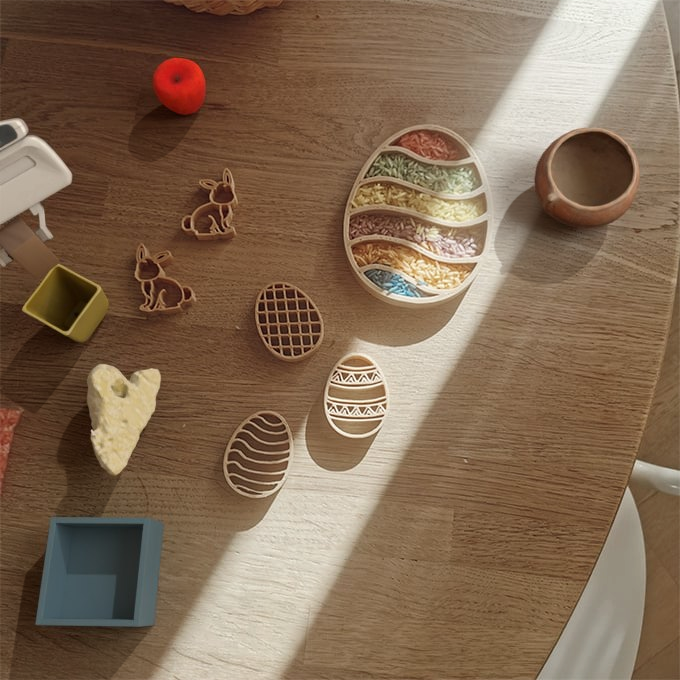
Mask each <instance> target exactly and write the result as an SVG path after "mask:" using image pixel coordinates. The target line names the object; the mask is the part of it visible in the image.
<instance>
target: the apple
mask: <svg viewBox="0 0 680 680" xmlns="http://www.w3.org/2000/svg"><path fill="white" fill-rule="evenodd" d="M206 85H207V84H206V79H205V76H204V72H203V70H202V69H201V68H200V65H198V64H197V63H196V62H195V61H193V60H190V59H188V58H182V57H181V58H180V57H171V58H169V59H165V60H164V61H163V62H161V63H160V64H159V65H158V66H157V68H156V69H155V72H154V73H153V75H152V87H153V90H154V93H155V95H156V97H157V98H158V100H159V102H160V103H161V104H162V105H163V106H164V107H166V108H167V109H168V110H170V111H172V112H174V113H176V114H178V115H184V116H187V115H192V114H195V113H197V112H198V111H199V110H200V109H201V107H202V105H204V103H205V98H206Z"/></svg>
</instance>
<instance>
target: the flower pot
mask: <svg viewBox="0 0 680 680" xmlns="http://www.w3.org/2000/svg"><path fill="white" fill-rule="evenodd" d="M109 305H110V303H109V300H108V297H107V296H106V294H105V292H104V290H103V288H102V287H101V286H100V285H99V284H97V283H96V282H93V281H91V280H89V279H88V278H86V277H84V276H82V275H80V274H79V273H76V272H74V271H73V270H71V269H70V268H68V267H66V266H64V265H63V264H60V263H59V264H58V265H56V266H55V267H54V268H53V269H51V270H50V271H49V272H48V273H46V274H45V277H44V278H43V280H42V281H41V283H40V284H39V285H38V287H36V289H35V290H34V292H33V293H32V294H31V295H30V296H29V298H28V299H27V301H26V302H25V303H24V304H23V306H22V308H21V311H22V312H23V313H24V314H27V315H28V316H30V317H32V318H33V319H35V320H37V321H39V322H41V323H42V324H45V325H46V326H47V327H49V328H51V329H53V330H55V331H57V332H58V333H59V334H61V335H63V336H65V337H67V338H69V339H71V340H72V341H75V342H77V343H84V342H86V341H87V340H89V339H90V338H91V336H93V334H94V332H95V330H96V329H97V328H98V326H99V325H100V323H101V322H102V320H103V319H104V318H105V316H106V315H107V313H108V311H109ZM76 314H77V315H76Z"/></svg>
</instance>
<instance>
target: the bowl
mask: <svg viewBox="0 0 680 680" xmlns="http://www.w3.org/2000/svg"><path fill="white" fill-rule="evenodd" d="M640 176H641V175H640V166H639V161H638V159H637V156H636V154H635V152H634V150H633V149H632V147H631V145H629V144H628V143H627V141H626V140H625V139H624V138H622V137H621V136H620V135H618V134H616V133H615V132H612V131H610V130H608V129H606V128H603V127H596V126H595V127H594V126H588V127H587V126H586V127H579V128H575V129H571V130H570V131H568V132H565V133H564V134H562V135H560V136H559V137H557V138H556V139H555V140H553V141H552V142H551V143H550V144H549V145H548V147H547V148H546V149H545V150H544V151H543V153H542V154H541V155H540V157H539V159H538V161H537V164H536V167H535V172H534V190H535V194H536V197H537V200H538V202H539V204H540V206H541V207H542V209H543V211H544V212H545V213H546V214H547V215H549V216H550V217H551V218H553V219H555V221H557V222H560V223H561V224H564V225H566V226H570V227H573V228H578V229H579V228H580V229H593V228H599V227H604V226H607V225H609V224H612V223H614V222H616V221H617V220H618V219H620V218H621V217H622V216H624V215H625V214H626V212H628V210H629V209H630V208H631V206H632V204H633V202H634V201H635V198H636V196H637V195H638V194H637V193H638V190H639V186H640Z"/></svg>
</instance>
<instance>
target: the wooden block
mask: <svg viewBox="0 0 680 680" xmlns="http://www.w3.org/2000/svg"><path fill="white" fill-rule="evenodd" d="M0 246H1V247H2V249H3V248H4V249H5V251H6V252H7V253H8V254H9V255H10V256H11V257H12V258H13V259H14V261H15V262H16V263H18V265H20V266H21V268H23V270H25V271H26V273H27V274H28V275H30V276H31V277H32V278H33V279H34V280H37V281H38V280H40V279H42V278H43V277H44V276H46V275H47V274H48V273H49V271H50V270H51V269H53V268H54V267H55V266H56V265H58V264H60V259H59V258H58V257H57V256H56V255H55V254H54V252H53V251H52V250H51V249H50V248H49V247H48V246H47V244H46V243H43V242H42V241H41V240H40V237H38V236H37V235H36V233H35V231H33V229H31V227H29V226H28V224H27V223H26V222H25V221H24V220H23V218H21V217H19V216H15V217H13V218H12V219H11V221H9V222H8V223H6V225H4V226H3V227H1V228H0Z"/></svg>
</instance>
